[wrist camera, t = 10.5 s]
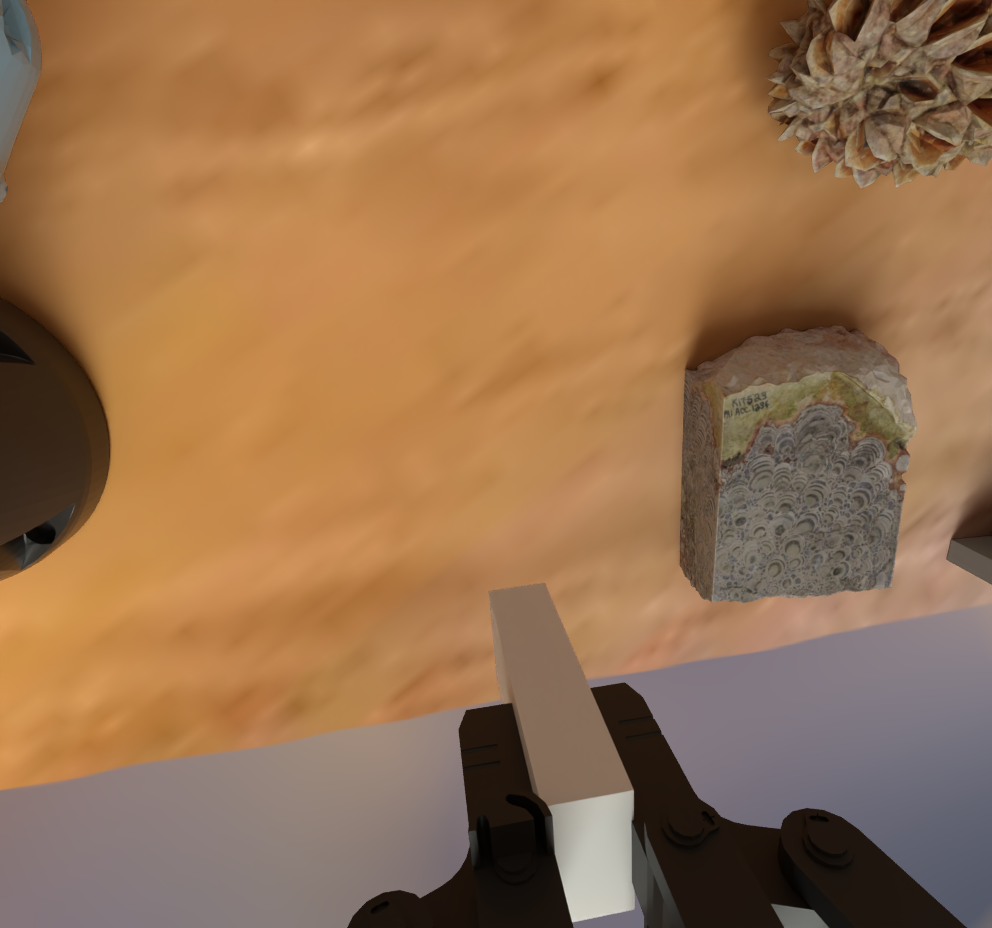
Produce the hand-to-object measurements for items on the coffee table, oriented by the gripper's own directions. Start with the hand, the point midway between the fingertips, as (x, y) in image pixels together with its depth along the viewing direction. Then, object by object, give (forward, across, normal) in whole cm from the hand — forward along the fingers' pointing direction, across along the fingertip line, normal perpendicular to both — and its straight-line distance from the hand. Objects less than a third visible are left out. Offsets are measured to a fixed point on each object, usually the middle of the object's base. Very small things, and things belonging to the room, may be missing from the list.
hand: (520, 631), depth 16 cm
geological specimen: (+19, -18, +3) cm, 26 cm away
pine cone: (+18, -25, -16) cm, 35 cm away
